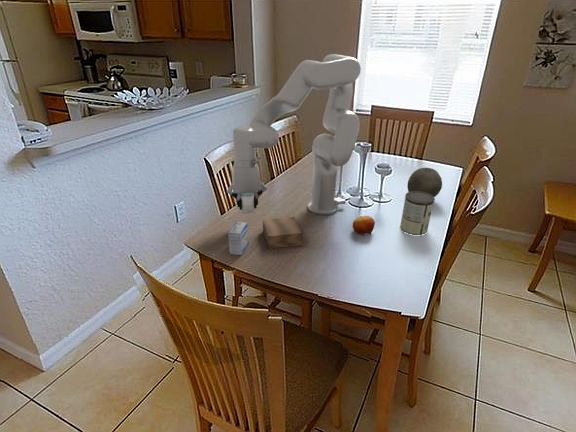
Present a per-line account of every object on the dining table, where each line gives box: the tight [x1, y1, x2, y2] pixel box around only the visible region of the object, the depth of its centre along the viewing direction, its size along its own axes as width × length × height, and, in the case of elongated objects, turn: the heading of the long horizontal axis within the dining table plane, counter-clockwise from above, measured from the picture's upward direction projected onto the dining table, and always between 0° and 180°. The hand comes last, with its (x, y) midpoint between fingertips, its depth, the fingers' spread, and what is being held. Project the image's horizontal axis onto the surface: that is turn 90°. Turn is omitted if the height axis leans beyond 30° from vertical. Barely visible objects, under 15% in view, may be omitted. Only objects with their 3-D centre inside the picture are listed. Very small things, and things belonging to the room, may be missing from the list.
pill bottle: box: [240, 192, 256, 214], centre depth 140 cm, size 5×5×8 cm
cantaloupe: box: [407, 167, 443, 198], centre depth 163 cm, size 14×14×15 cm
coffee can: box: [399, 191, 435, 235], centre depth 140 cm, size 10×10×14 cm
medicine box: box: [227, 221, 249, 256], centre depth 128 cm, size 8×4×9 cm, turn 168°
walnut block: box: [262, 216, 303, 249], centre depth 135 cm, size 12×12×5 cm
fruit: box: [352, 215, 376, 237], centre depth 139 cm, size 8×8×8 cm
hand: (247, 207), depth 141 cm, fingers closed on pill bottle, 5 cm apart
